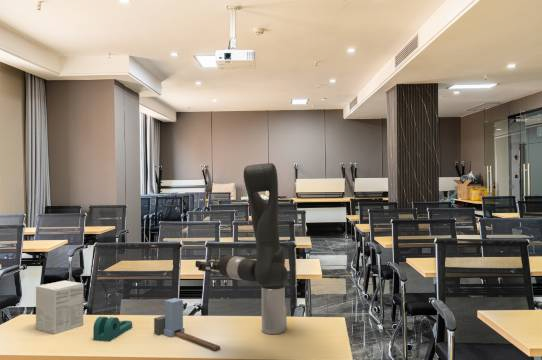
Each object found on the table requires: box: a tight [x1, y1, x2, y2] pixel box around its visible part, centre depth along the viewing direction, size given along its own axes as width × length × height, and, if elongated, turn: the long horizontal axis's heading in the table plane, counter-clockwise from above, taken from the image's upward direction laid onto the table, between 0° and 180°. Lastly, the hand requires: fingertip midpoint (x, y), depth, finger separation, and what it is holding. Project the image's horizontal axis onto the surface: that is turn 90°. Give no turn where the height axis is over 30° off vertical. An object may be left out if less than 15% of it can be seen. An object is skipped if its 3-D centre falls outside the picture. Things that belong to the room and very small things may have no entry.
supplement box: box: [35, 279, 84, 335], centre depth 171 cm, size 13×13×18 cm
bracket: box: [92, 316, 133, 342], centre depth 163 cm, size 18×7×8 cm, turn 168°
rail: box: [173, 330, 221, 352], centre depth 153 cm, size 2×29×1 cm, turn 48°
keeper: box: [162, 297, 185, 338], centre depth 161 cm, size 6×5×13 cm
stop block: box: [153, 315, 165, 336], centre depth 164 cm, size 10×3×6 cm, turn 138°
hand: (205, 262), depth 150 cm, fingers open, 8 cm apart
